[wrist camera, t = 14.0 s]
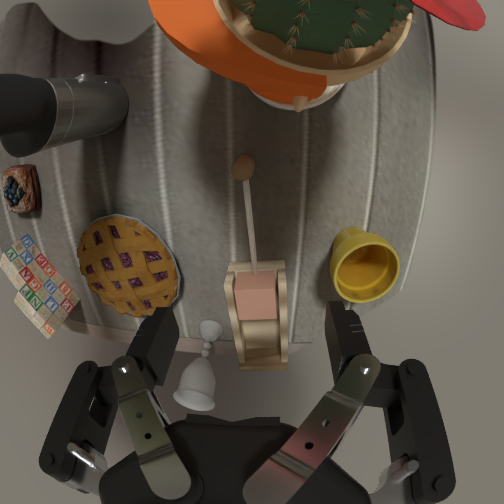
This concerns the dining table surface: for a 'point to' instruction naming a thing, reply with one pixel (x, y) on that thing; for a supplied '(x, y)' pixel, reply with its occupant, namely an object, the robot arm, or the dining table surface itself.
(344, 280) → the plant pot
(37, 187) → the pastry
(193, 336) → the dining table surface
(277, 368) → the light wooden box
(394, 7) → the potted cactus
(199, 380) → the chalice
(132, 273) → the pie
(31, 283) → the stack of blocks
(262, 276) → the pull block
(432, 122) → the dining table surface
